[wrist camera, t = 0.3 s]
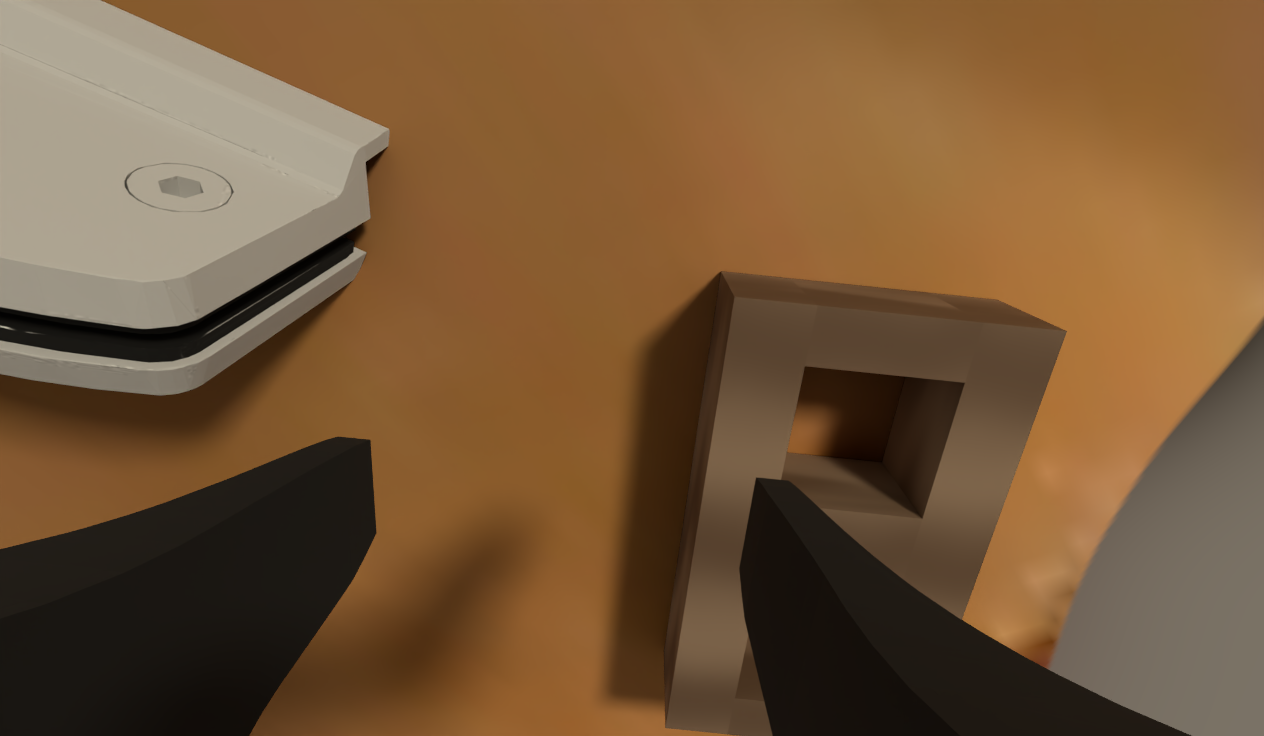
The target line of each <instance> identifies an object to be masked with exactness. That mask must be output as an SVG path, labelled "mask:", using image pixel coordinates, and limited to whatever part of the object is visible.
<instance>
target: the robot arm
mask: <svg viewBox="0 0 1264 736" xmlns="http://www.w3.org/2000/svg"><path fill="white" fill-rule="evenodd" d="M375 535H376V520H375V505H374V489H373V474H372V459H371V443H370V440H366V439H356V438H346V437H335V438H332V439H328V440H325V441H322V442H319V443H316V444H314V445H311V446H308V447H306V448H303V449H301V450H298V451H296V452H293V453H291V454H288V455H286V456H283V457H281V458H278V459H276V460H274V461H271V462H269V463H266V464H264V465H261V466H259V467H256V468H254V469H252V470H249V471H247V472H244V473H242V474H239V475H237V476H234V477H232V478H229V479H227V480H224V481H222V482H219V483H216V484H214V485H211V486H208V487H206V488H203V489H200V490H198V491H195V492H192V493H190V494H187V495H184V496H182V497H179V498H176V499H174V500H171V501H168V502H166V503H163V504H160V505H157V506H154V507H151V508H148V509H145V510H142V511H139V512H136V513H133V514H130V515H127V516H123V517H120V518H117V519H113V520H110V521H107V522H103V523H100V524H97V525H93V526H90V527H87V528H83V529H80V530H76V531H72V532H69V533H65V534H61V535H57V536H53V537H49V538H44V539H40V540H36V541H32V542H28V543H24V544H20V545H16V546H12V547H8V548H4V549H0V736H249V735H250V733H251V731H252V729H253V728H254V726H255V724H256V722H257V721H258V719H259V717H260V715H261V714H262V712H263V710H264V709H265V707H266V706H267V704H268V703H269V701H270V700H271V698H272V696H273V695H274V693H275V692H276V690H277V689H278V687H279V686H280V684H281V683H282V681H283V680H284V678H285V677H286V676H287V674H288V673H289V671H290V670H291V668H292V667H293V666H294V664H295V663H296V661H297V660H298V658H299V657H300V656H301V654H302V653H303V651H304V650H305V648H306V647H307V646H308V644H309V643H310V641H311V640H312V638H313V637H314V636H315V634H316V633H317V631H318V630H319V628H320V627H321V626H322V624H323V623H324V621H325V620H326V618H327V617H328V616H329V614H330V613H331V611H332V610H333V608H334V607H335V605H336V604H337V602H338V601H339V599H340V598H341V597H342V595H343V594H344V592H345V591H346V589H347V588H348V586H349V585H350V583H351V582H352V580H353V578H354V577H355V575H356V573H357V571H358V569H359V567H360V565H361V563H362V561H363V559H364V557H365V555H366V553H367V551H368V549H369V547H370V545H371V543H372V541H373V539H374V537H375ZM739 572H740V582H741V592H742V602H743V610H744V618H745V623H746V627H747V631H748V636H749V640H750V644H751V648H752V653H753V657H754V661H755V665H756V669H757V673H758V677H759V682H760V686H761V690H762V694H763V698H764V702H765V706H766V710H767V714H768V719H769V723H770V727H771V731H772V735H773V736H1191V735H1189V734H1186V733H1184V732H1182V731H1179V730H1177V729H1174V728H1172V727H1170V726H1168V725H1165V724H1163V723H1161V722H1158V721H1156V720H1153V719H1151V718H1149V717H1147V716H1144V715H1142V714H1140V713H1137V712H1135V711H1132V710H1130V709H1128V708H1126V707H1123V706H1121V705H1119V704H1117V703H1114V702H1112V701H1110V700H1108V699H1106V698H1104V697H1102V696H1100V695H1098V694H1096V693H1094V692H1092V691H1090V690H1088V689H1086V688H1084V687H1082V686H1080V685H1078V684H1076V683H1074V682H1072V681H1070V680H1068V679H1066V678H1063V677H1061V676H1059V675H1057V674H1055V673H1054V672H1052V671H1050V670H1048V669H1046V668H1044V667H1042V666H1040V665H1039V664H1037V663H1035V662H1033V661H1031V660H1029V659H1027V658H1025V657H1024V656H1022V655H1020V654H1018V653H1017V652H1015V651H1013V650H1011V649H1010V648H1008V647H1006V646H1005V645H1003V644H1001V643H999V642H998V641H996V640H994V639H992V638H991V637H989V636H987V635H986V634H984V633H982V632H980V631H979V630H977V629H976V628H974V627H972V626H971V625H969V624H968V623H966V622H964V621H963V620H961V619H960V618H958V617H956V616H955V615H953V614H952V613H950V612H949V611H948V610H946V609H945V608H943V607H942V606H940V605H939V604H937V603H936V602H934V601H933V600H931V599H930V598H928V597H927V596H925V595H924V594H923V593H921V592H920V591H918V590H917V589H916V588H914V587H913V586H911V585H910V584H909V583H907V582H906V581H905V580H903V579H902V578H901V577H900V576H898V575H897V574H896V573H894V572H893V571H892V570H891V569H889V568H888V567H887V566H886V565H884V564H883V563H882V562H881V561H879V560H878V559H877V558H876V557H874V556H873V555H872V554H871V553H870V552H868V551H867V550H866V549H865V548H864V547H862V546H861V545H860V544H859V543H858V542H857V541H856V540H854V539H853V538H852V537H851V536H850V535H849V534H848V533H846V532H845V531H844V530H843V529H842V528H841V527H840V526H839V525H838V524H836V523H835V522H834V521H833V520H832V519H831V518H830V517H829V516H828V515H827V514H826V513H825V512H823V511H822V510H821V509H820V508H819V507H818V506H817V505H816V504H815V503H814V502H813V501H812V500H811V499H809V498H808V497H807V496H806V495H805V494H804V493H803V492H802V491H801V490H800V489H798V488H797V487H796V486H795V485H794V484H793V483H791V482H790V481H788V480H778V479H768V478H757V477H756V480H755V485H754V491H753V496H752V502H751V507H750V512H749V518H748V523H747V529H746V534H745V540H744V545H743V550H742V556H741V561H740V567H739Z"/></svg>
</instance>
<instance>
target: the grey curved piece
mask: <svg viewBox="0 0 1264 736" xmlns="http://www.w3.org/2000/svg"><path fill="white" fill-rule="evenodd" d="M388 143H389V129H388V128H385V127H383V126H381V125H379V124H377V123H374V122H372V121H370V120H368V119H365V118H363V117H361V116H359V115H356V114H354V113H352V112H350V111H347V110H345V109H343V108H341V107H338V106H336V105H334V104H332V103H329V102H327V101H325V100H323V99H320V98H318V97H316V96H314V95H312V94H309V93H307V92H305V91H303V90H300V89H298V88H296V87H294V86H291V85H289V84H287V83H285V82H282V81H280V80H278V79H276V78H273V77H271V76H269V75H267V74H264V73H262V72H260V71H258V70H255V69H253V68H251V67H249V66H247V65H244V64H242V63H240V62H238V61H235V60H233V59H231V58H229V57H226V56H224V55H222V54H220V53H217V52H215V51H213V50H211V49H208V48H206V47H204V46H202V45H199V44H197V43H195V42H193V41H190V40H188V39H186V38H184V37H182V36H179V35H177V34H175V33H173V32H170V31H168V30H166V29H164V28H161V27H159V26H157V25H155V24H152V23H150V22H148V21H146V20H143V19H141V18H139V17H137V16H134V15H132V14H130V13H128V12H126V11H123V10H121V9H119V8H117V7H114V6H112V5H110V4H108V3H105V2H103V1H101V0H0V374H3V375H9V376H14V377H19V378H24V379H29V380H35V381H42V382H49V383H56V384H63V385H70V386H77V387H84V388H91V389H99V390H109V391H119V392H130V393H140V394H150V395H170V394H179V393H182V392H186V391H190V390H192V389H195V388H197V387H199V386H201V385H203V384H204V383H206V382H207V381H208V380H210V379H211V378H213V377H214V376H216V375H217V374H218V373H220V372H221V371H223V370H224V369H226V368H227V367H229V366H230V365H231V364H233V363H234V362H236V361H237V360H239V359H240V358H242V357H243V356H244V355H246V354H247V353H249V352H250V351H252V350H253V349H255V348H256V347H257V346H259V345H260V344H262V343H263V342H265V341H266V340H268V339H269V338H270V337H272V336H273V335H275V334H276V333H278V332H279V331H280V330H282V329H283V328H285V327H286V326H288V325H289V324H291V323H292V322H293V321H295V320H296V319H298V318H299V317H301V316H302V315H304V314H305V313H306V312H308V311H309V310H311V309H312V308H314V307H315V306H317V305H318V304H319V303H321V302H322V301H324V300H325V299H327V298H328V297H330V296H331V295H332V294H334V293H335V292H337V291H338V290H340V289H341V288H342V287H344V286H345V285H347V284H348V283H350V282H351V281H353V280H354V278H355V277H356V275H357V273H358V272H359V270H360V268H361V266H362V263H363V261H364V258H365V256H366V252H364V251H362V250H360V249H358V248H355V247H354V242H353V241H351V240H349V239H346V238H344V236H346V235H347V234H349V233H351V232H352V231H354V230H355V228H356V227H357V226H358V225H360V224H362V223H363V222H365V221H367V220H368V219H370V207H369V196H368V185H367V174H366V161H368V160H369V159H371V158H372V157H374V156H375V155H376V154H378V153H379V152H381V151H382V150H383V149H385V148H386V147H388Z"/></svg>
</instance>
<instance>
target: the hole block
mask: <svg viewBox="0 0 1264 736" xmlns="http://www.w3.org/2000/svg"><path fill="white" fill-rule="evenodd" d="M1066 332H1067V331H1065V330H1063V329H1061V328H1058V327H1056V326H1054V325H1052V324H1050V323H1047V322H1045V321H1043V320H1041V319H1039V318H1036V317H1034V316H1032V315H1030V314H1028V313H1025V312H1023V311H1021V310H1019V309H1017V308H1014V307H1012V306H1010V305H1008V304H1006V303H1003V302H1001V301H999V300H994V299H984V298H974V297H965V296H955V295H945V294H936V293H926V292H916V291H907V290H897V289H887V288H878V287H868V286H858V285H849V284H839V283H829V282H820V281H810V280H801V279H791V278H781V277H772V276H762V275H752V274H743V273H733V272H723V271H721V275H720V282H719V288H718V295H717V302H716V308H715V315H714V322H713V328H712V335H711V342H710V348H709V355H708V362H707V368H706V375H705V382H704V388H703V395H702V402H701V408H700V415H699V422H698V428H697V435H696V442H695V448H694V455H693V462H692V468H691V475H690V482H689V488H688V495H687V502H686V508H685V515H684V522H683V528H682V535H681V542H680V548H679V555H678V562H677V568H676V575H675V582H674V588H673V595H672V602H671V608H670V615H669V622H668V628H667V635H666V641H665V648H664V679H665V728H671V729H681V730H691V731H701V732H710V733H720V734H730V735H740V736H773V735H772V731H771V727H770V723H769V719H768V714H767V710H766V706H765V702H764V698H763V694H762V690H761V686H760V682H759V677H758V673H757V669H756V665H755V661H754V657H753V653H752V648H751V644H750V640H749V636H748V631H747V627H746V623H745V618H744V610H743V602H742V592H741V582H740V572H739V567H740V561H741V556H742V550H743V545H744V540H745V534H746V529H747V523H748V518H749V512H750V507H751V502H752V496H753V491H754V485H755V480H756V477H757V478H768V479H778V480H788V481H790V482H791V483H793V484H794V485H795V486H796V487H797V488H798V489H800V490H801V491H802V492H803V493H804V494H805V495H806V496H807V497H808V498H809V499H811V500H812V501H813V502H814V503H815V504H816V505H817V506H818V507H819V508H820V509H821V510H822V511H823V512H825V513H826V514H827V515H828V516H829V517H830V518H831V519H832V520H833V521H834V522H835V523H836V524H838V525H839V526H840V527H841V528H842V529H843V530H844V531H845V532H846V533H848V534H849V535H850V536H851V537H852V538H853V539H854V540H856V541H857V542H858V543H859V544H860V545H861V546H862V547H864V548H865V549H866V550H867V551H868V552H870V553H871V554H872V555H873V556H874V557H876V558H877V559H878V560H879V561H881V562H882V563H883V564H884V565H886V566H887V567H888V568H889V569H891V570H892V571H893V572H894V573H896V574H897V575H898V576H900V577H901V578H902V579H903V580H905V581H906V582H907V583H909V584H910V585H911V586H913V587H914V588H916V589H917V590H918V591H920V592H921V593H923V594H924V595H925V596H927V597H928V598H930V599H931V600H933V601H934V602H936V603H937V604H939V605H940V606H942V607H943V608H945V609H946V610H948V611H949V612H950V613H952V614H953V615H955V616H956V617H958V618H960V619H961V620H962V617H963V615H964V612H965V609H966V606H967V604H968V601H969V598H970V596H971V593H972V590H973V587H974V585H975V582H976V579H977V576H978V574H979V571H980V568H981V565H982V563H983V560H984V557H985V554H986V552H987V549H988V546H989V543H990V541H991V538H992V535H993V532H994V530H995V527H996V524H997V521H998V519H999V516H1000V513H1001V510H1002V508H1003V505H1004V502H1005V499H1006V497H1007V494H1008V491H1009V488H1010V486H1011V483H1012V480H1013V478H1014V475H1015V472H1016V469H1017V467H1018V464H1019V461H1020V458H1021V456H1022V453H1023V450H1024V447H1025V445H1026V442H1027V439H1028V436H1029V434H1030V431H1031V428H1032V425H1033V423H1034V420H1035V417H1036V414H1037V412H1038V409H1039V406H1040V403H1041V401H1042V398H1043V395H1044V392H1045V390H1046V387H1047V384H1048V381H1049V379H1050V376H1051V373H1052V370H1053V368H1054V365H1055V362H1056V360H1057V357H1058V354H1059V351H1060V349H1061V346H1062V343H1063V340H1064V338H1065V335H1066ZM805 366H808V367H818V368H828V369H837V370H847V371H857V372H866V373H876V374H886V375H895V376H905V380H904V384H903V388H902V391H901V395H900V399H899V402H898V406H897V409H896V413H895V417H894V420H893V424H892V428H891V431H890V435H889V439H888V442H887V446H886V450H885V453H884V457H883V460H882V462H874V461H864V460H854V459H845V458H835V457H825V456H816V455H806V454H796V453H787V449H788V444H789V439H790V435H791V430H792V425H793V420H794V416H795V411H796V406H797V401H798V397H799V392H800V387H801V382H802V378H803V373H804V368H805Z"/></svg>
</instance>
